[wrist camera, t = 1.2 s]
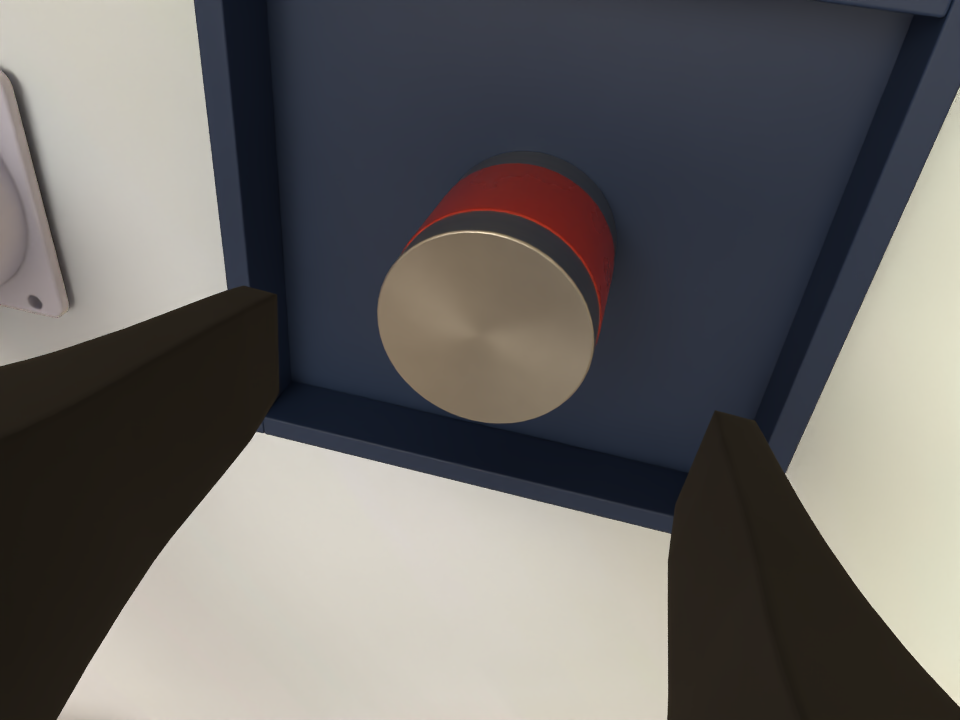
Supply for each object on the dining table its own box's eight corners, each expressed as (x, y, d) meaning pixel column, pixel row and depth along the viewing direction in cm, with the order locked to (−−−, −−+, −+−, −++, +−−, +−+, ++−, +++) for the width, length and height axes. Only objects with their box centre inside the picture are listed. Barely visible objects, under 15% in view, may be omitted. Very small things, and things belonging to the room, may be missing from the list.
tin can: (436, 298, 21) (373, 399, 17) (448, 134, 18) (376, 207, 14) (599, 331, 20) (574, 446, 16) (636, 166, 17) (617, 254, 13)
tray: (277, 387, 25) (242, 429, 23) (237, -126, 16) (177, -125, 15) (745, 497, 22) (749, 553, 20) (967, -33, 14) (1008, -20, 12)
